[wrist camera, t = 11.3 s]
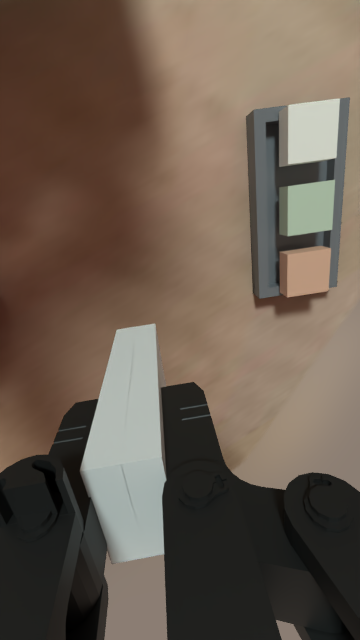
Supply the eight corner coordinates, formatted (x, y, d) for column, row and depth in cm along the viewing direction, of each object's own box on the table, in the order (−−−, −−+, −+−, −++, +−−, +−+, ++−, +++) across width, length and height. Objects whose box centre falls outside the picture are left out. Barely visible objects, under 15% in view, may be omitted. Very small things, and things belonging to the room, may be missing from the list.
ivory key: (273, 116, 31) (288, 104, 28) (319, 110, 31) (339, 98, 28) (273, 168, 33) (288, 164, 30) (317, 162, 33) (336, 157, 30)
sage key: (273, 188, 34) (287, 186, 30) (316, 182, 34) (335, 179, 31) (274, 233, 36) (287, 236, 32) (314, 227, 36) (332, 229, 32)
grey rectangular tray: (246, 116, 32) (253, 109, 30) (335, 105, 32) (349, 97, 30) (253, 293, 39) (259, 298, 37) (325, 281, 40) (336, 286, 38)
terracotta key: (274, 250, 36) (287, 254, 33) (314, 244, 37) (331, 248, 33) (274, 289, 38) (287, 297, 35) (312, 283, 38) (328, 291, 35)
